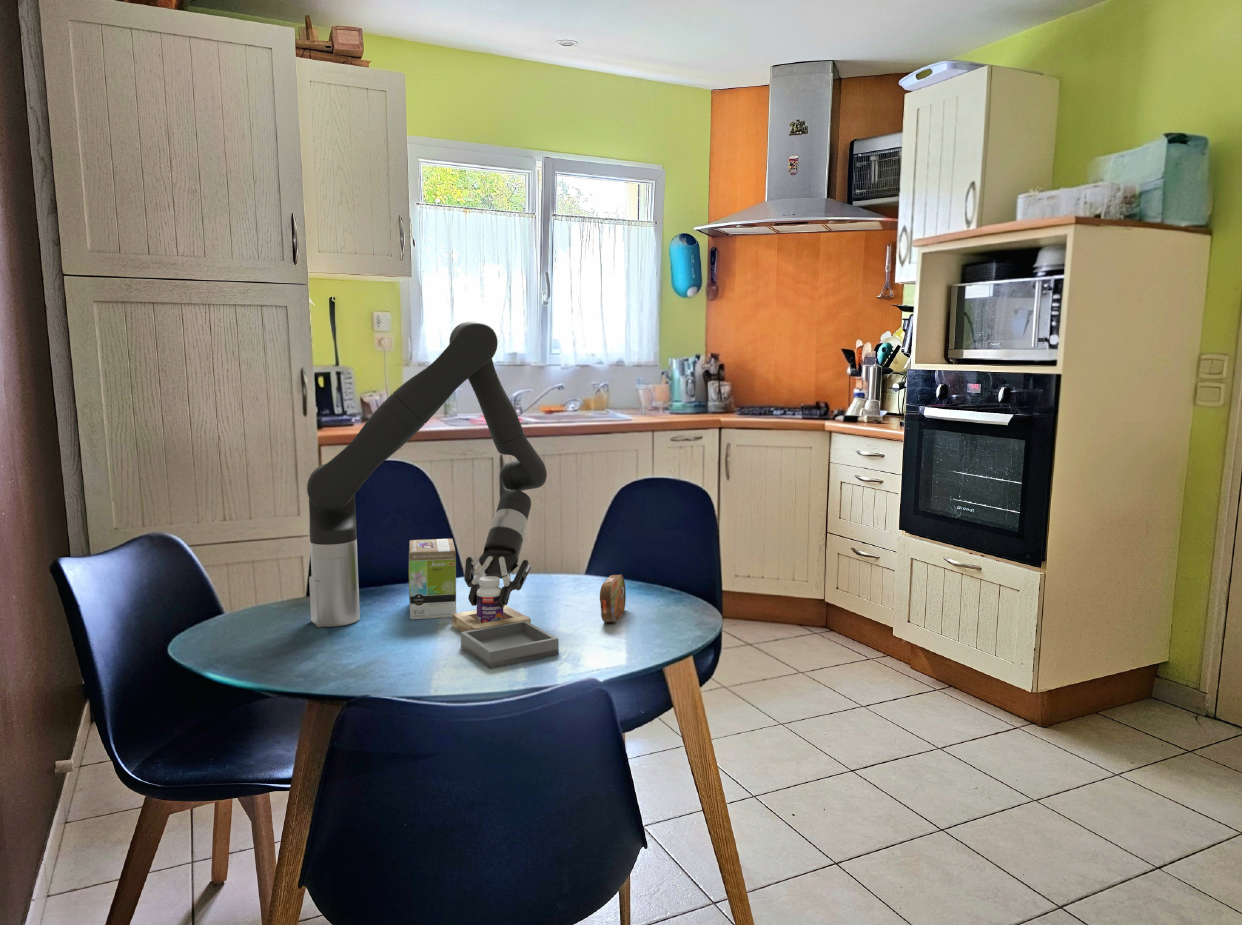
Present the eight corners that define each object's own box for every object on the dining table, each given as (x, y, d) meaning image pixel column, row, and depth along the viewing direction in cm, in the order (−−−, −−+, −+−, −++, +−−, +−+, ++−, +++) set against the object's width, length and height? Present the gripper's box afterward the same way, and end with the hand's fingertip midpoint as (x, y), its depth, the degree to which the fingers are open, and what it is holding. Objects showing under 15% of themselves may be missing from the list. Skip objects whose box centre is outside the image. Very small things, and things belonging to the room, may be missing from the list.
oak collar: (475, 641, 159) (474, 628, 159) (452, 625, 169) (451, 613, 169) (530, 630, 166) (530, 618, 165) (505, 616, 176) (505, 605, 175)
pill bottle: (481, 630, 164) (480, 582, 163) (473, 623, 169) (472, 576, 168) (507, 626, 166) (506, 579, 165) (498, 619, 171) (497, 573, 170)
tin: (612, 627, 167) (612, 587, 167) (597, 627, 168) (597, 586, 167) (627, 607, 182) (626, 570, 181) (613, 607, 183) (612, 570, 182)
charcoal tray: (490, 668, 144) (489, 651, 144) (460, 647, 155) (460, 632, 155) (558, 654, 151) (558, 638, 151) (525, 635, 163) (525, 620, 162)
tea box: (458, 617, 175) (456, 549, 174) (409, 621, 173) (407, 552, 172) (454, 599, 190) (453, 536, 189) (409, 602, 188) (407, 538, 186)
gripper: (469, 523, 174) (447, 593, 164) (534, 526, 171) (516, 597, 161) (479, 543, 180) (458, 611, 170) (542, 546, 177) (525, 616, 167)
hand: (486, 604), depth 165 cm, fingers closed on pill bottle, 5 cm apart
